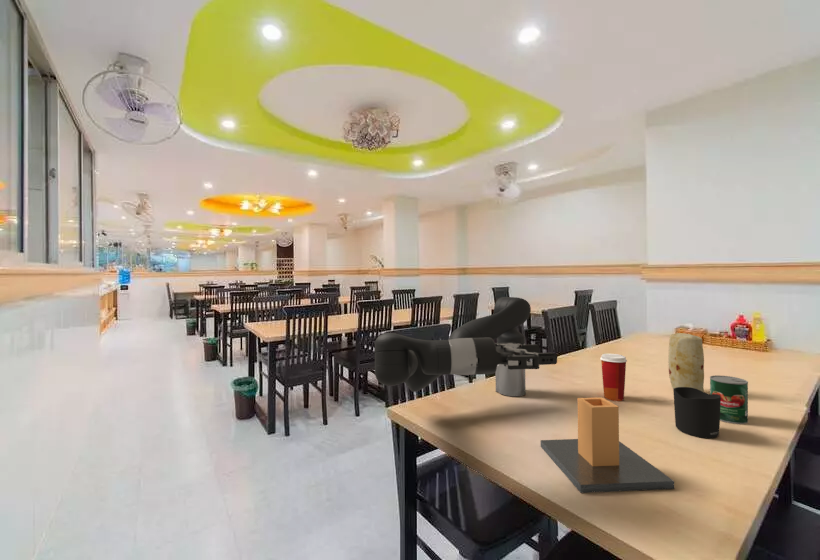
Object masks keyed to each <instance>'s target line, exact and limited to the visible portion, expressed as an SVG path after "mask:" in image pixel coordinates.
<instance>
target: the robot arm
mask: <svg viewBox="0 0 820 560" xmlns="http://www.w3.org/2000/svg"><path fill="white" fill-rule="evenodd" d="M531 309H532V308H531V304H530V303H529V301H527V300H526V299H524V298H522V297H514V296H501V297H499V298H498V299H497V300H496V301H495V304H494V307H493V314H489V315H486V316H483V317H479V318H475V319H472V320H469V321H468V322H465V323H464V324H461V326H458V327H457V328H456V329H454V330H453V331H452V332H451V334H450V336H449V338H448V339H437V340H435V339H433V340H432V339H429V340H428V339H421V338H415V337H410V336H406V335H403V334H399V333H395V332H385V333H382V334H381V335H379V336H378V337H377V338H376V339H375V341H374V375H375V378H376V380H377V381H378V383H380V384H382V385H383V386H389V387H391V386H392V387H393V386H399V385H402V384H403V383H405V384H406V386H407V388H408V389H409V390H410V391H411V392H413V393H415V392H419V391H420V390H421V391H422V390H423V389H424V388H426V387H428V386H429V385H430V384H431V383H433V382H434V381H436V380H437V379H438V378H439V377H441V376H442V375H443V376H444V375H456V376H471V375H472V376H474V375H475V376H477V375H495V392H498V393H499V394H501V395H503V396H507V397H522V396H524V395H526V370H539V369H540V365H541V366H542V365H543V366H546V365H548V366H549V365H556V364H557V363H558V354H557V353H556V352H540V345H538V344H532V343H531V344H530V343H529V344H526V339H525V335H524V334H523V333H521V332H520V331H519V330H518V329H517V327H519V326H521V325H523V324H524V323H525V322H527V320H528V319H529V318H530V315H531V311H532V310H531ZM494 340H496V341H497V342H495V341H494ZM528 360H531V361H528Z"/></svg>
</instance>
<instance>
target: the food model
mask: <svg viewBox="0 0 820 560" xmlns="http://www.w3.org/2000/svg"><path fill="white" fill-rule="evenodd" d="M667 363H668V365H667V366H668V375H669V377H668V378H669V380H670V384H671V388H672V390H673V389H674V388H677V387H691V388H695V389H698V390H700V391H702V392H705V389H704V388H705V387H704V381H705V354H704V346H703V338H702V337H701V336H698V335H695V334H694V335H693V334H690V333H684V332H683V333H681V332H678V333H677V332H676V333H672V334H670V335H669V341H668V361H667Z"/></svg>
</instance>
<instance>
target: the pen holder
mask: <svg viewBox="0 0 820 560" xmlns="http://www.w3.org/2000/svg"><path fill="white" fill-rule="evenodd" d="M672 391H673V392H672V393H673V405H674V406H673V407H674V410H673V411H674V422H675V428H676V429H677V430H678V431H679V432H681V433H682V434H685V435H689V436H691V437H695V438H699V439H700V438H701V439H716V438H717V437H719V436H720V426H721V421H720V404H721V396H720V395H718V394H710V393H707V392H705V391H704V392H702V391H700V390H698V389H695V388H691V387H677V388H674V389H673V388H672Z"/></svg>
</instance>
